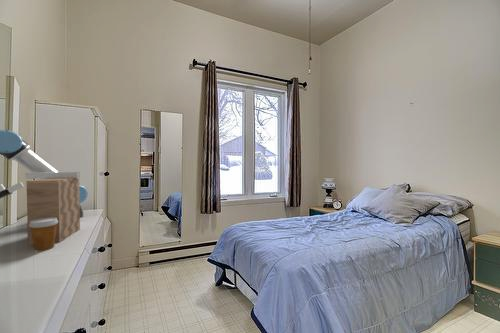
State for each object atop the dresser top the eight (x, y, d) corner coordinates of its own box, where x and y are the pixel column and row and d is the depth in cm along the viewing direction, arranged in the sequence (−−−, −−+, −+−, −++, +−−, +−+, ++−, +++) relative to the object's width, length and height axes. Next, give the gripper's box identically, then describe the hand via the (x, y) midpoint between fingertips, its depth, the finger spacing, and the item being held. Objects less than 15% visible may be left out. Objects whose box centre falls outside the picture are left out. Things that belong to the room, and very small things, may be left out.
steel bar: (29, 178, 124) (29, 172, 124) (79, 177, 129) (79, 171, 129) (25, 178, 120) (25, 172, 120) (76, 178, 126) (76, 172, 126)
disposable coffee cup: (64, 245, 107) (63, 218, 107) (39, 253, 98) (38, 223, 98) (49, 243, 110) (48, 216, 110) (23, 250, 101) (23, 221, 101)
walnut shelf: (53, 231, 130) (52, 177, 129) (80, 229, 133) (79, 177, 132) (27, 244, 108) (26, 180, 108) (59, 242, 111) (58, 180, 111)
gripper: (-9, 210, 129) (33, 189, 133) (-54, 221, 105) (-1, 195, 109) (-18, 198, 128) (24, 177, 132) (-66, 206, 104) (-12, 180, 108)
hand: (13, 185), depth 121 cm, fingers open, 13 cm apart
